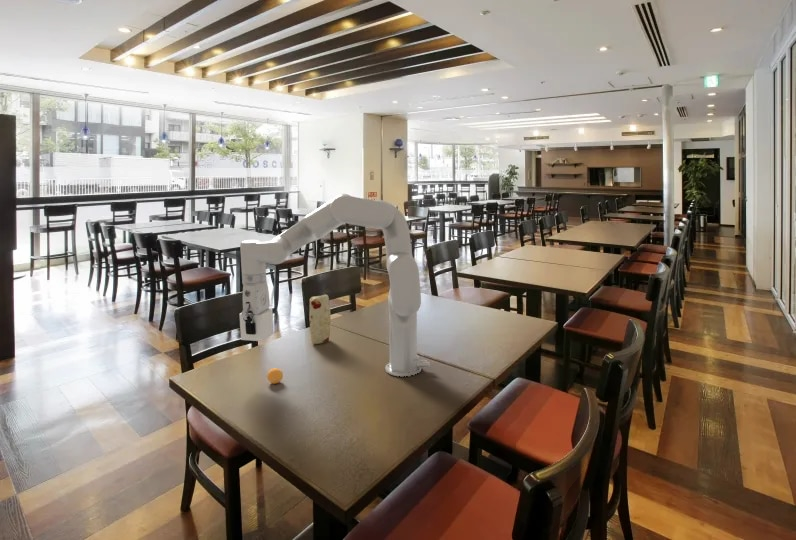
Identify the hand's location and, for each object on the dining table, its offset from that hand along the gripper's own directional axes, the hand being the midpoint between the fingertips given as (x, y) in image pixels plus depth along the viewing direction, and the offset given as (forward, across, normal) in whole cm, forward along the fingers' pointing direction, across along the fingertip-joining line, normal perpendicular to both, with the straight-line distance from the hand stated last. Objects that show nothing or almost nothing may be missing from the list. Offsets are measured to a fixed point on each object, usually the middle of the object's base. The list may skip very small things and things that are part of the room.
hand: (257, 329), depth 152 cm
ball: (+14, -3, -7) cm, 16 cm away
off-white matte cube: (+2, 0, 0) cm, 2 cm away
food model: (+17, +36, -9) cm, 41 cm away
